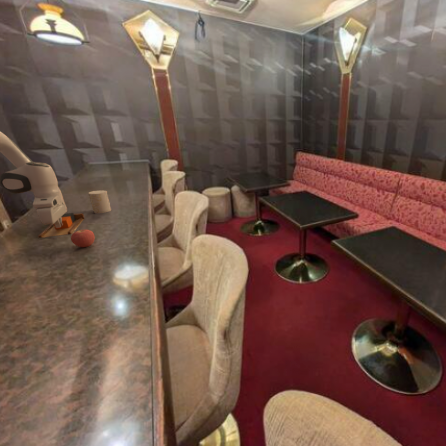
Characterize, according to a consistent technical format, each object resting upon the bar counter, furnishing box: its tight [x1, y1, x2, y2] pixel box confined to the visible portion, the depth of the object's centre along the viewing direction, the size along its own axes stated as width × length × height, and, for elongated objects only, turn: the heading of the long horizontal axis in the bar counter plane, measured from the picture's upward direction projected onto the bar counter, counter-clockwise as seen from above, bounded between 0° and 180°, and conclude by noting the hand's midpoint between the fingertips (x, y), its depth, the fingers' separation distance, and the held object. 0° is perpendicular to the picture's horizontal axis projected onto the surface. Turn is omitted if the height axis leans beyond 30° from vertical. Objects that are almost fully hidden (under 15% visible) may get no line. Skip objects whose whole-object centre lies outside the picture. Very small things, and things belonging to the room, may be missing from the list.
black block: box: [61, 212, 75, 223], centre depth 125 cm, size 5×6×4 cm
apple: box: [70, 229, 96, 248], centre depth 103 cm, size 7×7×8 cm
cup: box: [88, 189, 112, 214], centre depth 143 cm, size 8×8×12 cm
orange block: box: [54, 217, 73, 229], centre depth 120 cm, size 5×6×4 cm
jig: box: [37, 212, 85, 239], centre depth 120 cm, size 12×22×4 cm, turn 28°
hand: (59, 226), depth 117 cm, fingers closed
